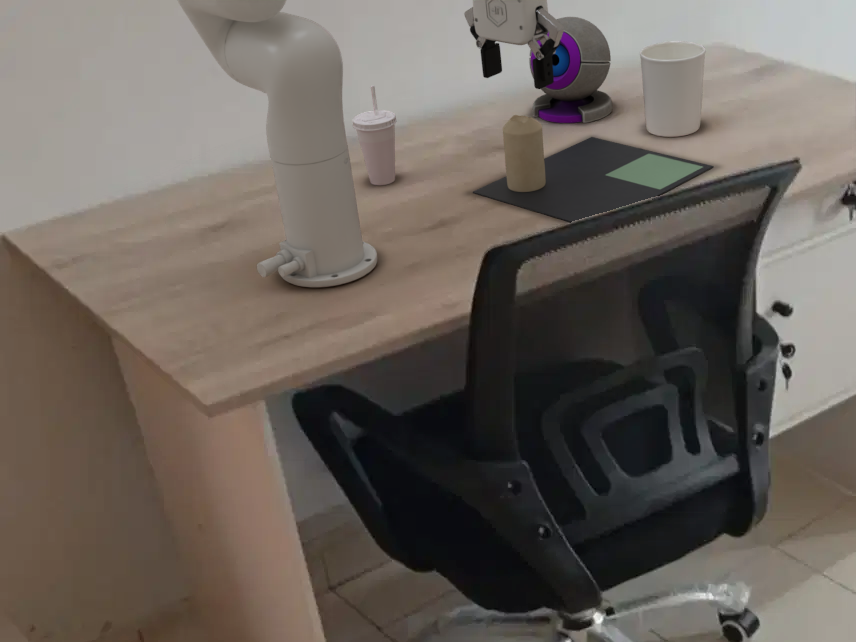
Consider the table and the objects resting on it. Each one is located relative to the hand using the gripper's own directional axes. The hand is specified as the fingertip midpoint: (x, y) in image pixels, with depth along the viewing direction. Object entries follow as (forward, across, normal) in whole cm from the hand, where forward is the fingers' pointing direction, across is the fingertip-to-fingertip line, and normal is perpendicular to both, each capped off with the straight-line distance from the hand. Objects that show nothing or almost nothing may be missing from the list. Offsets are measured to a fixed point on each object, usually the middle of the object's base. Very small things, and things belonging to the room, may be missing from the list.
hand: (518, 80), depth 170 cm
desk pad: (+16, +7, +7) cm, 18 cm away
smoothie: (+15, -20, -10) cm, 27 cm away
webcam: (+16, -16, +28) cm, 36 cm away
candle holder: (+16, +3, +30) cm, 34 cm away
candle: (+15, 0, 0) cm, 15 cm away
